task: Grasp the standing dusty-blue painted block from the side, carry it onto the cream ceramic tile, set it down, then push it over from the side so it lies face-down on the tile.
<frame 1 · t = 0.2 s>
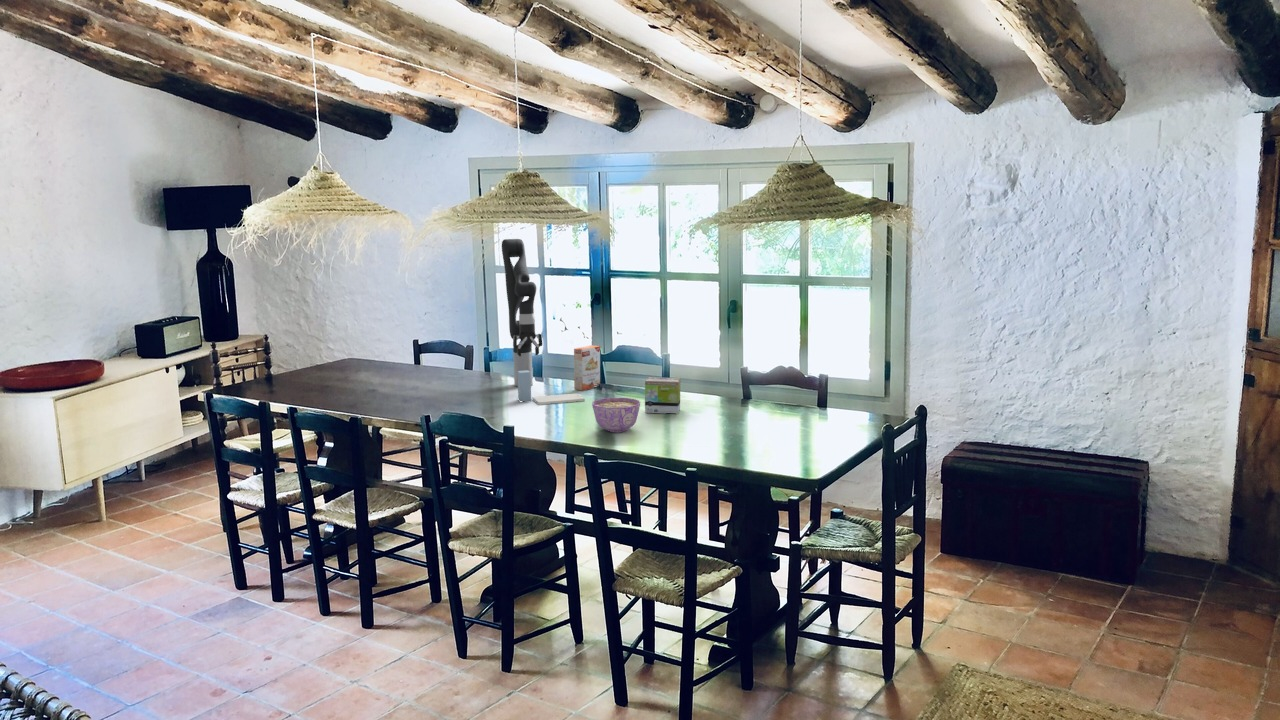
hand: (528, 355, 486), 17 cm above the table, tool pointing down, fingers open, 8 cm apart
cream tile: (558, 400, 466), on the table
bowl of food: (616, 430, 407), on the table
cracker box: (587, 388, 493), on the table
tea box: (662, 412, 440), on the table
blue block: (524, 400, 465), on the table
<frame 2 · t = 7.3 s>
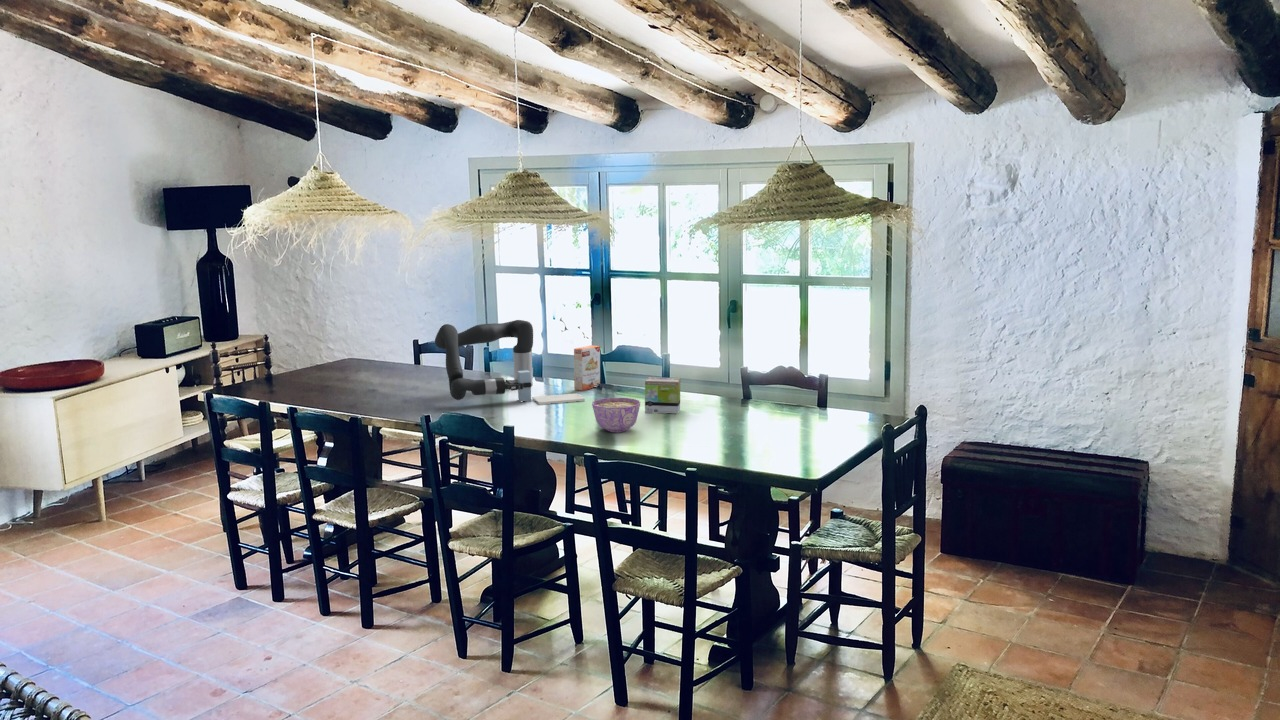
hand: (529, 383, 465), 8 cm above the table, tool horizontal, fingers closed on blue block, 5 cm apart
blue block: (524, 400, 465), on the table, touching gripper
everything else where it was.
when the fingers open (10 cm above the table, at t = 11.2 s): blue block stays where it is, resting on cream tile.
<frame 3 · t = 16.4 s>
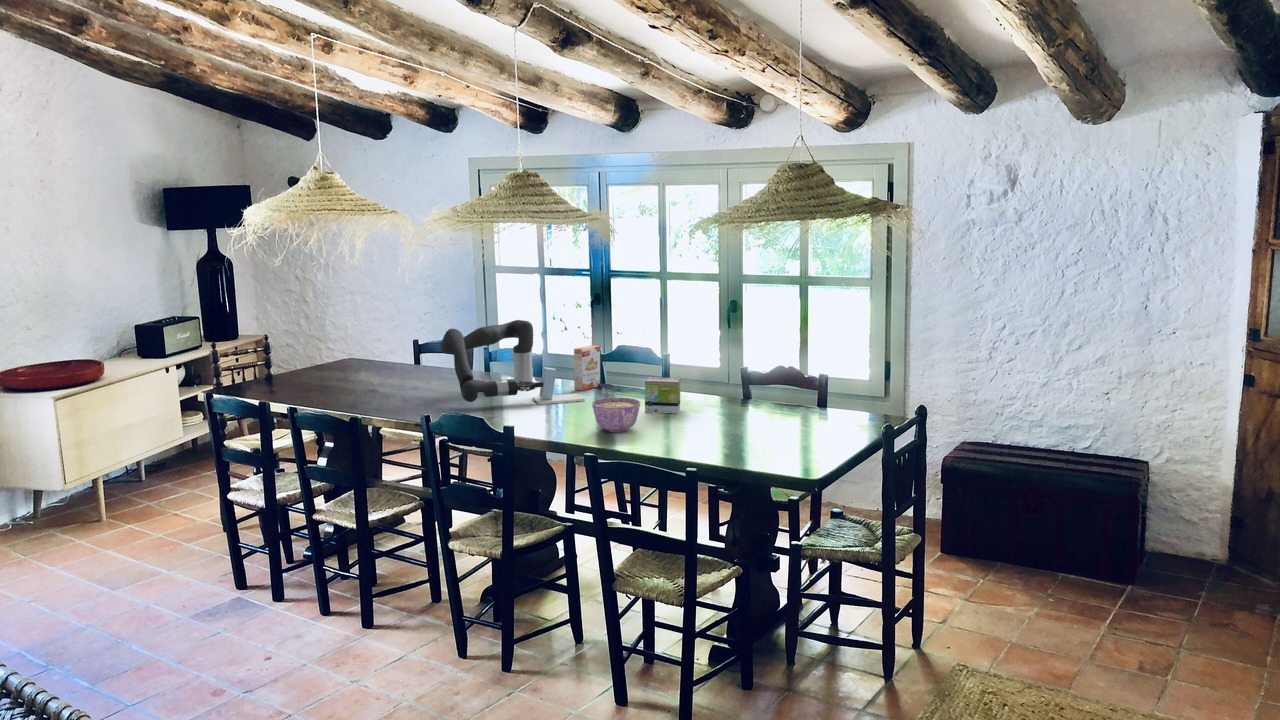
hand: (542, 384, 461), 8 cm above the table, tool horizontal, fingers closed
blue block: (545, 397, 463), point 2 cm above the table, tilted 10°, touching cream tile
everything else where it was.
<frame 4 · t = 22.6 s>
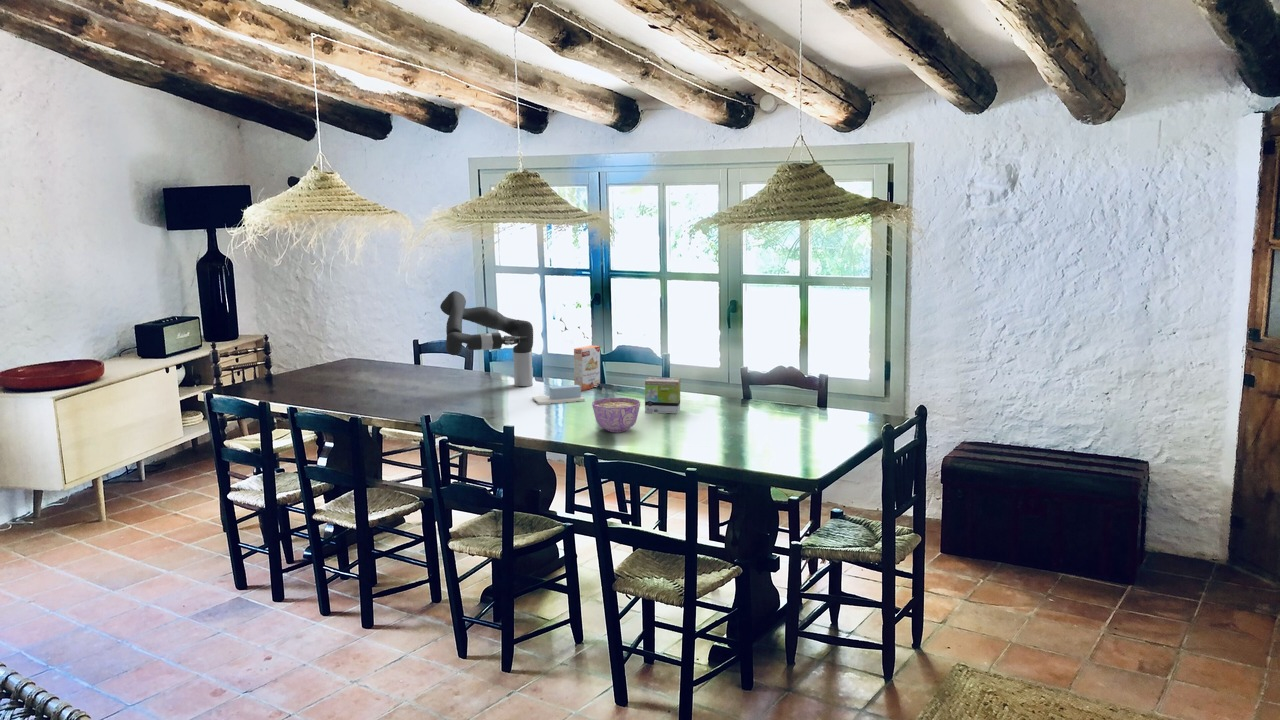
hand: (527, 339, 456), 30 cm above the table, tool horizontal, fingers closed
blue block: (550, 393, 464), point 4 cm above the table, tilted 90°, touching cream tile
everything else where it was.
at the end: blue block tilted 90°; blue block inside the target area (3.6 cm from its centre), point 3.7 cm above the table; the gripper is holding nothing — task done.
